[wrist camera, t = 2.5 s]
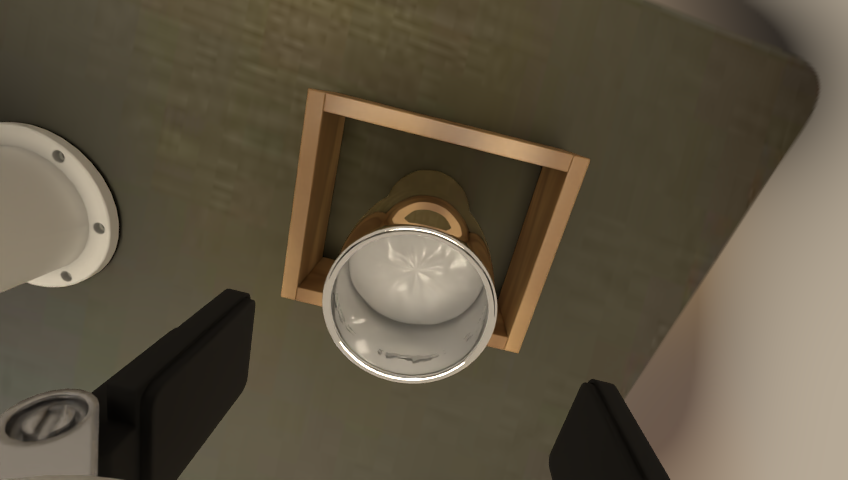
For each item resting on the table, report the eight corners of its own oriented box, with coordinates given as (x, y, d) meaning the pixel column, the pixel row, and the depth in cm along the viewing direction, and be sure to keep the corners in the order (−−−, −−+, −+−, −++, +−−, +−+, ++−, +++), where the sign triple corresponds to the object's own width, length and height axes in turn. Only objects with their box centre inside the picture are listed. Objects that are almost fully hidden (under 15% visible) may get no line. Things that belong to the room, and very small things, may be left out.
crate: (308, 265, 31) (279, 297, 25) (334, 92, 27) (307, 87, 21) (506, 312, 31) (518, 354, 26) (563, 149, 27) (591, 159, 22)
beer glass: (397, 149, 27) (344, 192, 13) (490, 182, 28) (535, 259, 14) (368, 237, 30) (296, 356, 15) (455, 267, 30) (462, 410, 16)
